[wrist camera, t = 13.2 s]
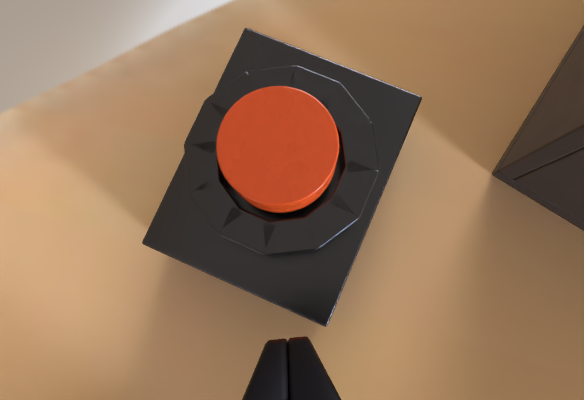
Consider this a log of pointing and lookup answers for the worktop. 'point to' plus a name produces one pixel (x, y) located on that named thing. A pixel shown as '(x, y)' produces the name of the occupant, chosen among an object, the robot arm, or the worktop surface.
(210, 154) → the red push button box
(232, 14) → the worktop surface
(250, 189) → the button
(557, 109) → the dark grey housing
